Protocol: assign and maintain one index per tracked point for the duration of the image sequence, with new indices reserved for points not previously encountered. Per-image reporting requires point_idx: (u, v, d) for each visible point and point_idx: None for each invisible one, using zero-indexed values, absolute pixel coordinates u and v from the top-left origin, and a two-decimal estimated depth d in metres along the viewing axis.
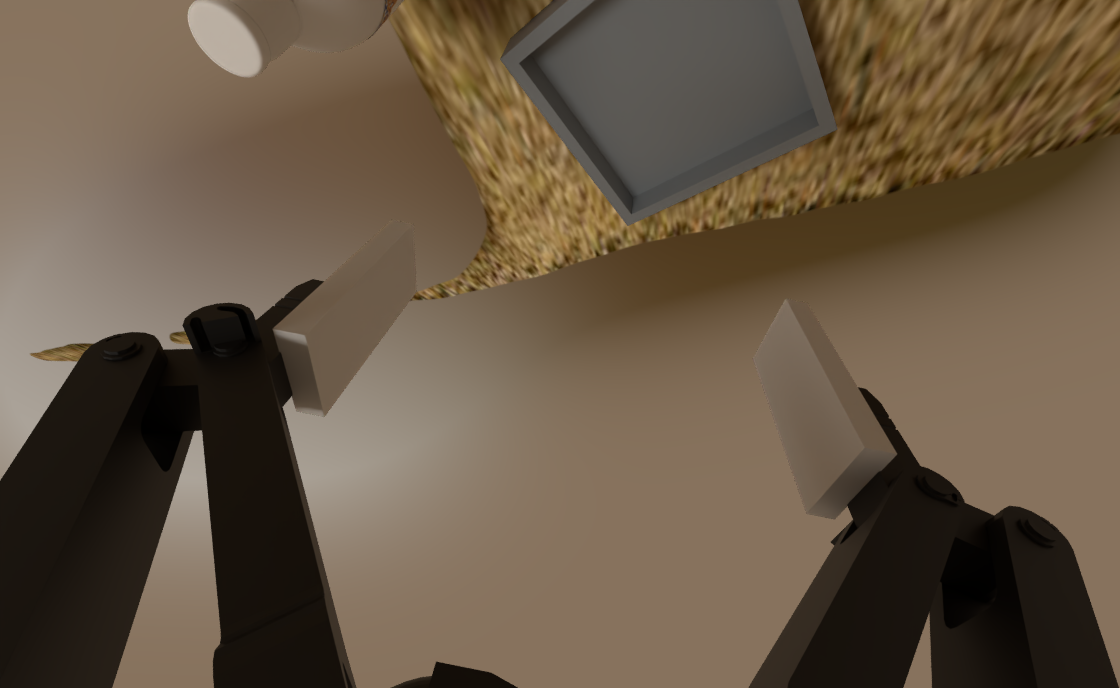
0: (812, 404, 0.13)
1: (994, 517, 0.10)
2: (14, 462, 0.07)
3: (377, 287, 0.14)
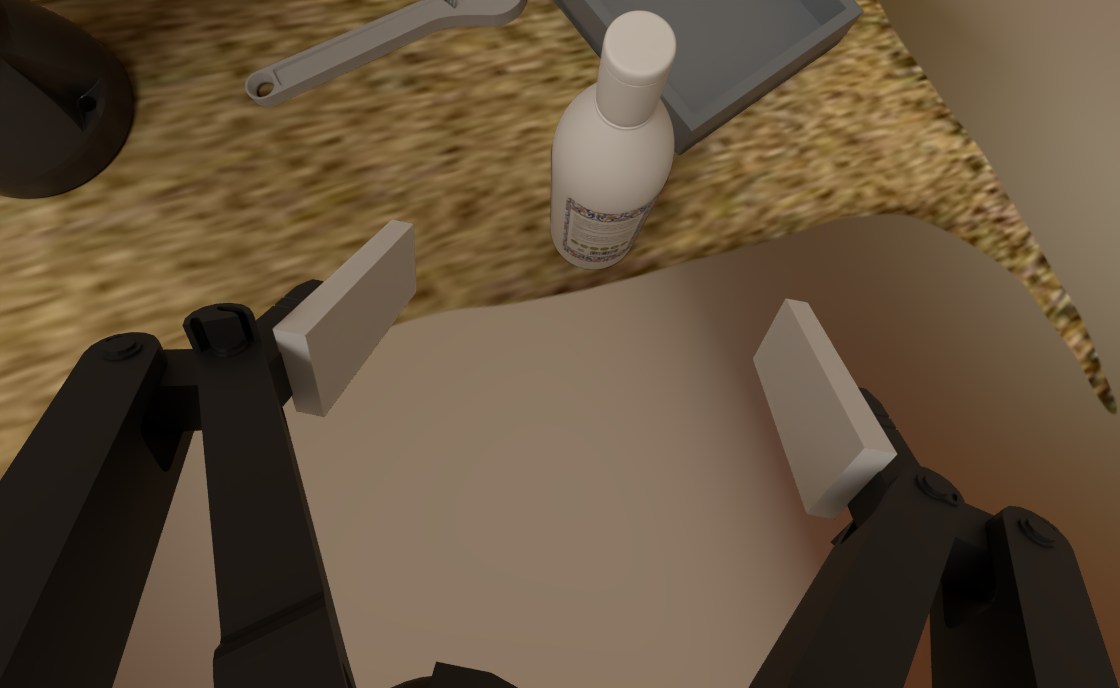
0: (812, 404, 0.13)
1: (994, 517, 0.10)
2: (14, 462, 0.07)
3: (377, 287, 0.14)
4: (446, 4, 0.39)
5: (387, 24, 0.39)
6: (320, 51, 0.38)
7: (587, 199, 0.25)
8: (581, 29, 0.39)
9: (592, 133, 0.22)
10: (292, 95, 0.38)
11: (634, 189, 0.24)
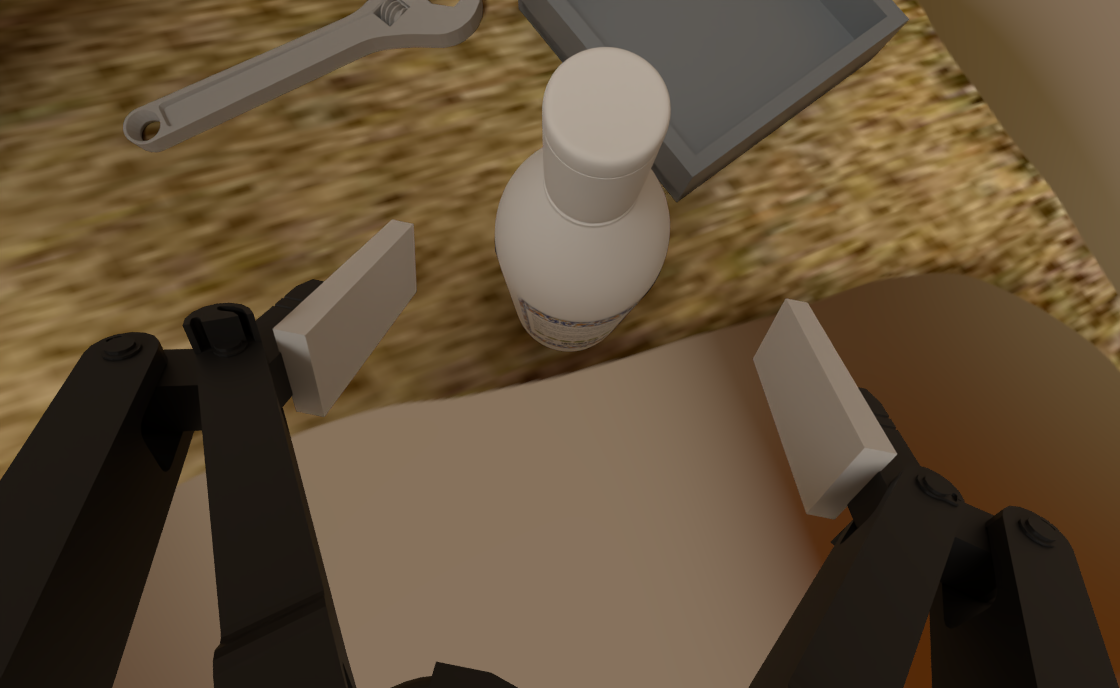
0: (812, 404, 0.13)
1: (994, 517, 0.10)
2: (14, 462, 0.07)
3: (377, 287, 0.14)
4: (380, 21, 0.31)
5: (306, 47, 0.31)
6: (220, 81, 0.30)
7: (544, 306, 0.17)
8: (553, 45, 0.32)
9: (543, 228, 0.14)
10: (186, 137, 0.30)
11: (611, 298, 0.16)
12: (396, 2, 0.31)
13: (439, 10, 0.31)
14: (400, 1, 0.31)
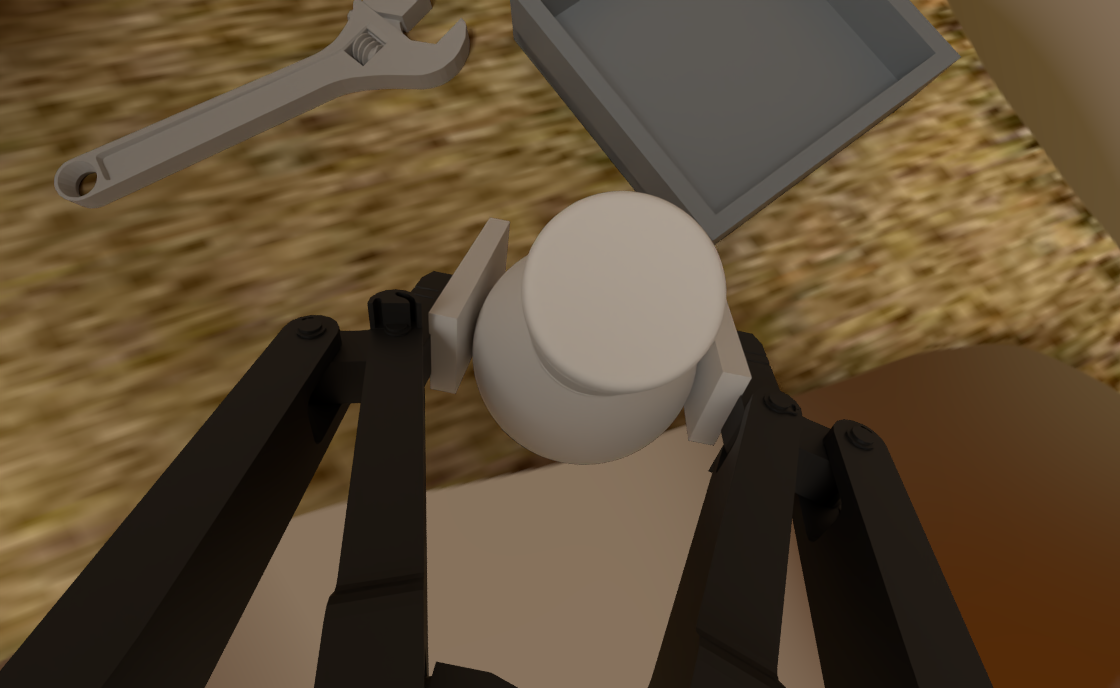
0: None
1: (828, 434, 0.11)
2: (215, 412, 0.09)
3: (488, 278, 0.15)
4: (351, 60, 0.27)
5: (266, 89, 0.27)
6: (167, 128, 0.27)
7: None
8: (552, 81, 0.28)
9: (530, 386, 0.10)
10: (128, 191, 0.27)
11: (622, 453, 0.12)
12: (370, 38, 0.27)
13: (419, 48, 0.27)
14: (375, 37, 0.28)
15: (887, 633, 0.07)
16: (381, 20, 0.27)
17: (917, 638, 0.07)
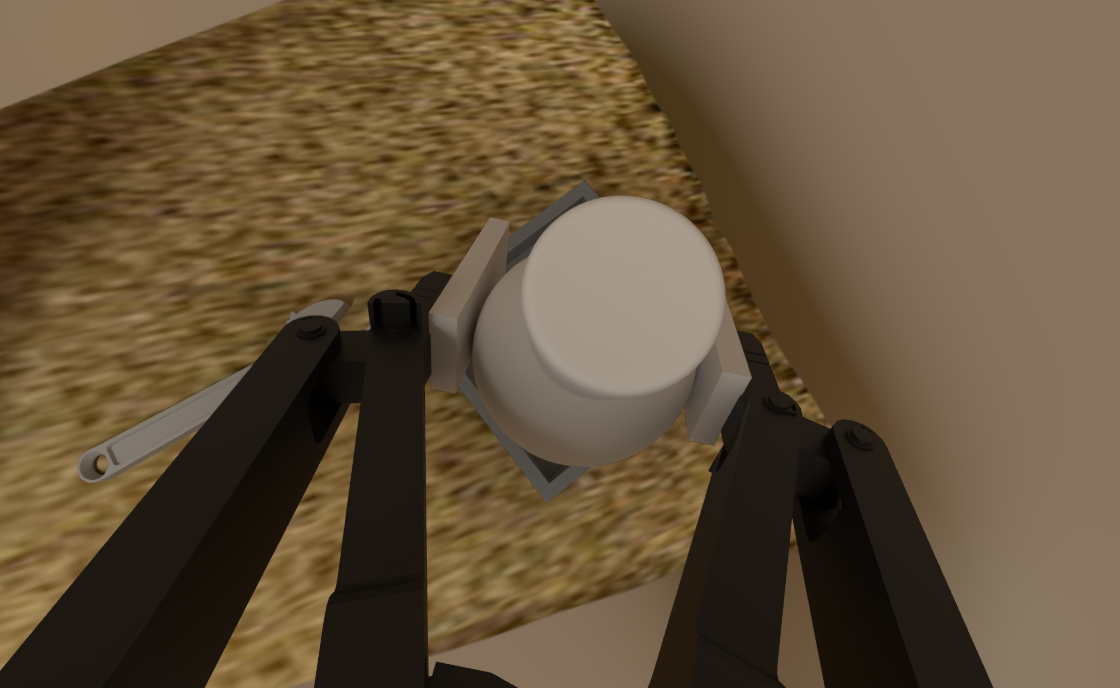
0: None
1: (828, 434, 0.11)
2: (215, 412, 0.09)
3: (489, 278, 0.15)
4: None
5: (228, 387, 0.37)
6: (157, 420, 0.36)
7: (534, 452, 0.14)
8: None
9: (530, 389, 0.10)
10: (131, 467, 0.37)
11: (621, 456, 0.12)
12: None
13: None
14: None
15: (887, 632, 0.07)
16: None
17: (917, 638, 0.07)
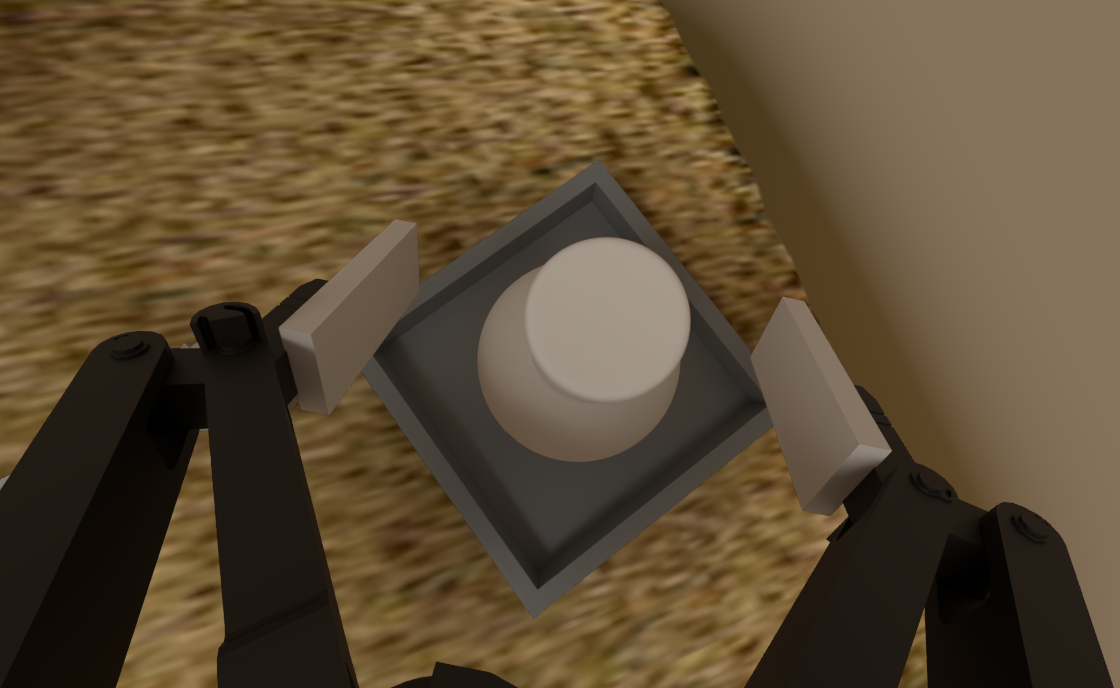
0: (808, 402, 0.13)
1: (988, 513, 0.10)
2: (23, 460, 0.07)
3: (381, 286, 0.14)
4: None
5: None
6: None
7: (534, 449, 0.15)
8: None
9: (530, 392, 0.12)
10: None
11: (611, 452, 0.14)
12: None
13: None
14: None
15: None
16: None
17: None
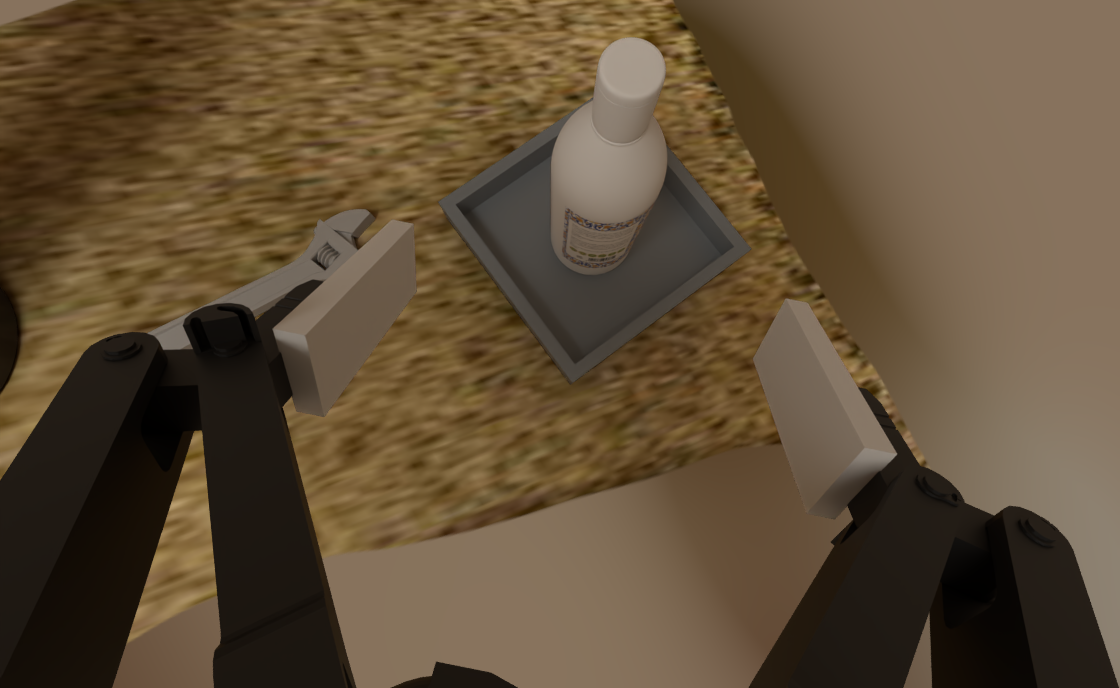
0: (812, 404, 0.13)
1: (994, 517, 0.10)
2: (14, 462, 0.07)
3: (377, 287, 0.14)
4: (316, 266, 0.38)
5: (256, 290, 0.38)
6: None
7: (584, 211, 0.26)
8: (473, 253, 0.39)
9: (589, 149, 0.23)
10: None
11: (629, 200, 0.25)
12: (330, 250, 0.38)
13: None
14: (333, 247, 0.39)
15: None
16: (337, 236, 0.38)
17: None
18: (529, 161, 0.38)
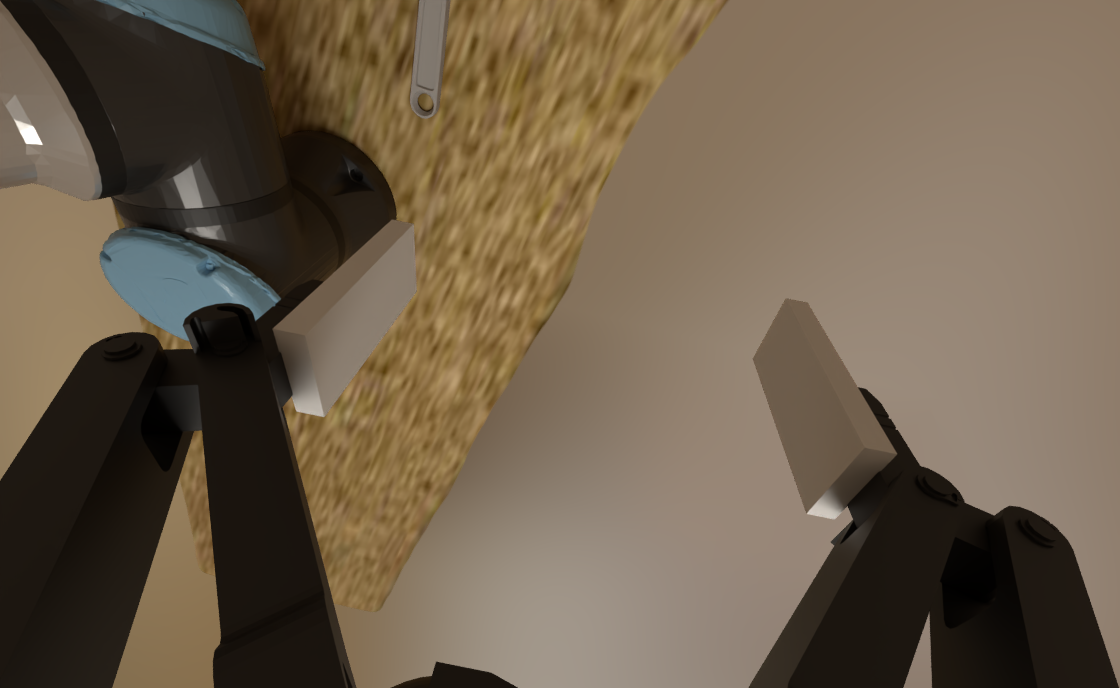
0: (812, 404, 0.13)
1: (994, 517, 0.10)
2: (14, 462, 0.07)
3: (377, 287, 0.14)
4: None
5: None
6: (421, 35, 0.41)
7: None
8: None
9: None
10: (440, 87, 0.44)
11: None
12: None
13: None
14: None
15: None
16: None
17: None
18: None
